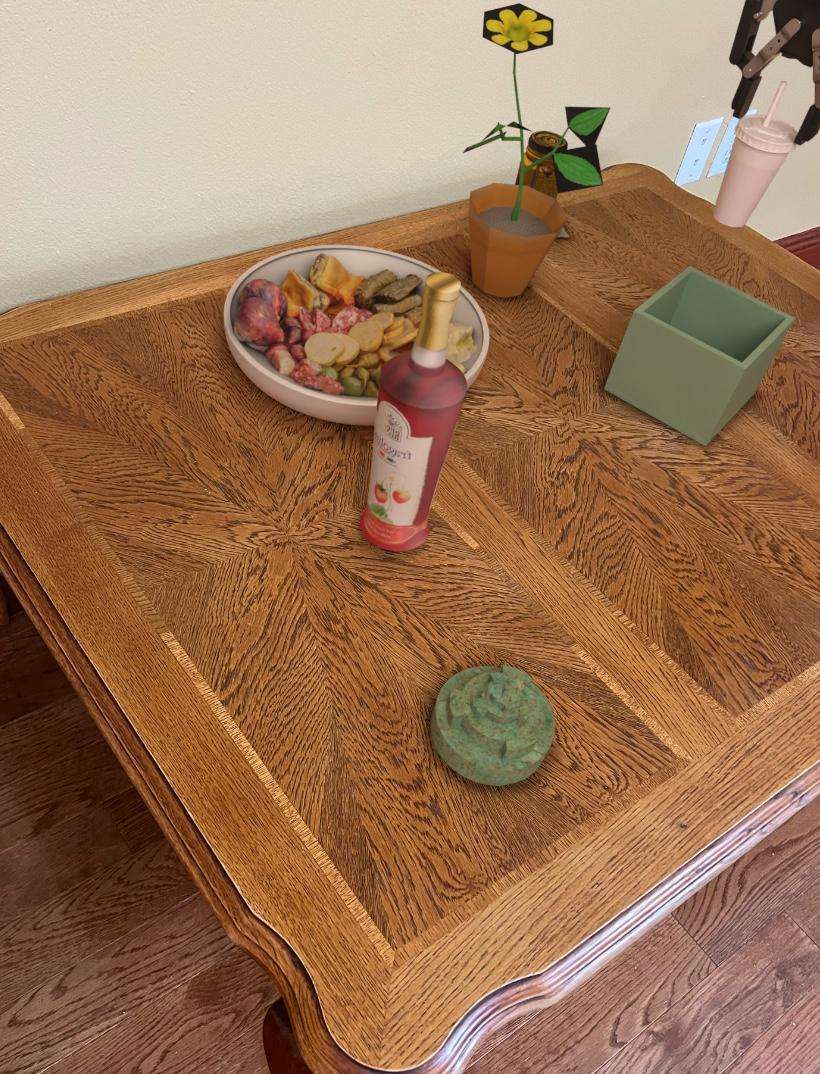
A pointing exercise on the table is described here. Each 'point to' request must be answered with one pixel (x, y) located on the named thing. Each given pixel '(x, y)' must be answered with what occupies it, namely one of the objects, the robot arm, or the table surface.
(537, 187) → the condiment
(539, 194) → the potted plant
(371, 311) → the bowl
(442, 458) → the liquor
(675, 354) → the bin
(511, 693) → the decorative artifact
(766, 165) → the smoothie
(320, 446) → the table surface
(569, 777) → the table surface
